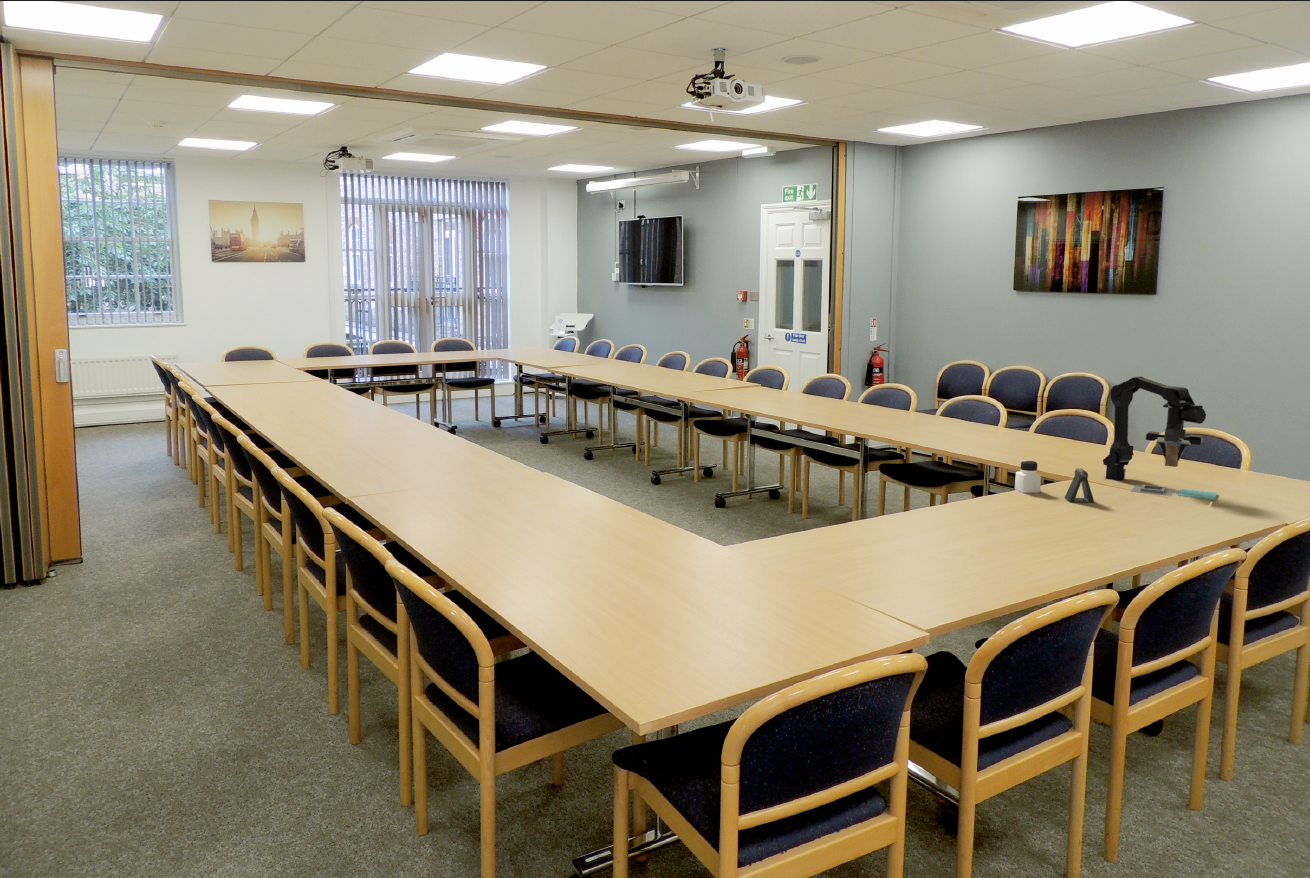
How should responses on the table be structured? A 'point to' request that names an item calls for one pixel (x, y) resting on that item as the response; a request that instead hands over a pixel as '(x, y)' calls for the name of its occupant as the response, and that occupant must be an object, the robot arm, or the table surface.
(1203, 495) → the mat
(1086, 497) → the phone stand
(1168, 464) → the walnut block
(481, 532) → the table surface
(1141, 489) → the holder
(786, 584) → the table surface
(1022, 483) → the medicine bottle
